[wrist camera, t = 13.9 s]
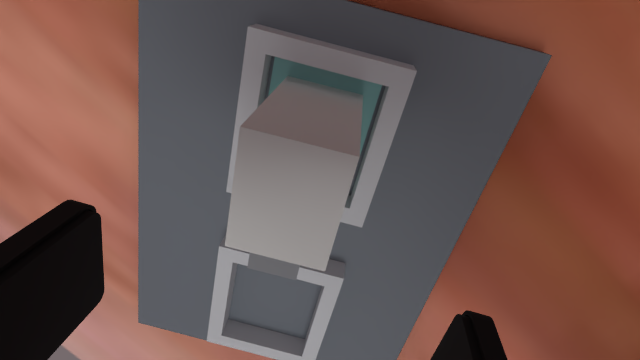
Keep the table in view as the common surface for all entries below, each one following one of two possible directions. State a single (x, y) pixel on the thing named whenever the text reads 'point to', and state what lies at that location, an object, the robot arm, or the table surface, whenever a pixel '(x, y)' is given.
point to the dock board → (368, 182)
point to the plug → (294, 176)
